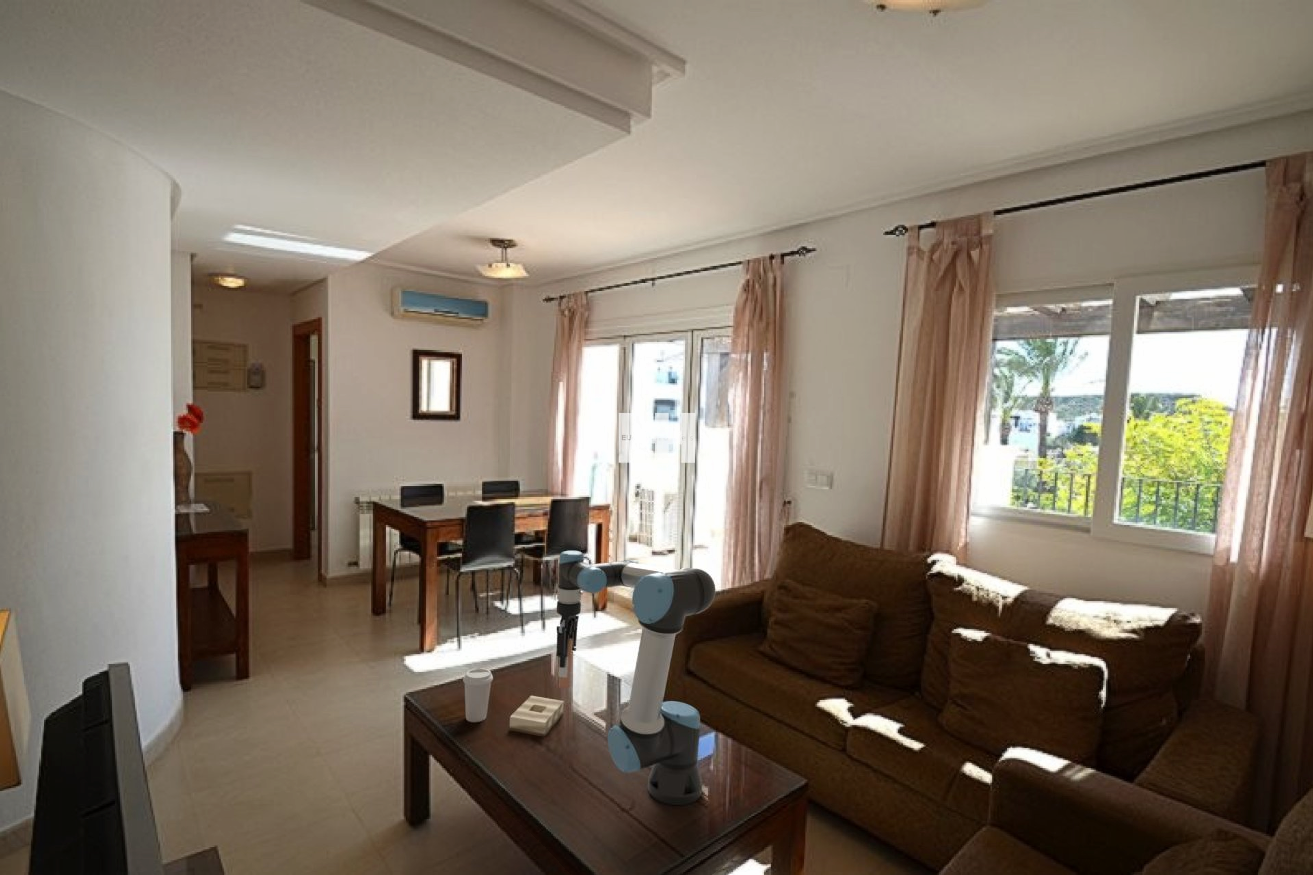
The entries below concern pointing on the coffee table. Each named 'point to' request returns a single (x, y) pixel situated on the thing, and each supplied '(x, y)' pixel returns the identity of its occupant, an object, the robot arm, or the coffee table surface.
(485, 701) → the coffee cup
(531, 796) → the coffee table surface
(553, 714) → the bore block
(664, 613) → the robot arm
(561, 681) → the pin
